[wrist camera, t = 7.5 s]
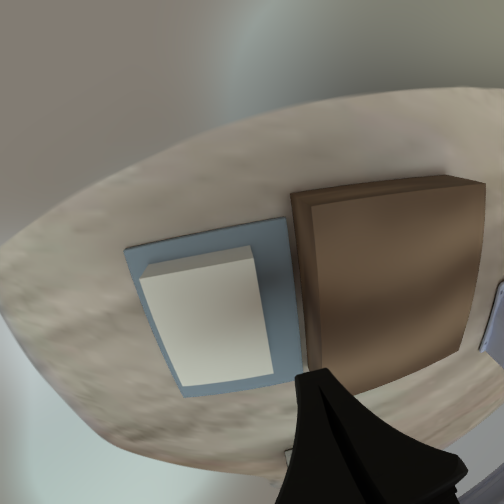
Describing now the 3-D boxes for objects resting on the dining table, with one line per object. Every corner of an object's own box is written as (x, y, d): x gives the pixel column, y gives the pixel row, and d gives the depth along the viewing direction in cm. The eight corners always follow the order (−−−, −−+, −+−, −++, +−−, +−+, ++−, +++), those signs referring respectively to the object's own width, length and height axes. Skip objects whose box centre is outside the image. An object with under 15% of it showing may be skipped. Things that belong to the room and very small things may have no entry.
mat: (302, 374, 20) (303, 378, 19) (184, 394, 20) (183, 397, 19) (284, 216, 16) (285, 218, 15) (125, 248, 15) (123, 250, 15)
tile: (182, 386, 16) (185, 366, 18) (273, 373, 16) (269, 353, 18) (139, 278, 13) (148, 264, 15) (253, 257, 14) (250, 245, 16)
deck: (433, 325, 20) (458, 350, 16) (308, 367, 20) (322, 404, 16) (446, 174, 16) (485, 183, 12) (289, 193, 15) (310, 206, 11)
